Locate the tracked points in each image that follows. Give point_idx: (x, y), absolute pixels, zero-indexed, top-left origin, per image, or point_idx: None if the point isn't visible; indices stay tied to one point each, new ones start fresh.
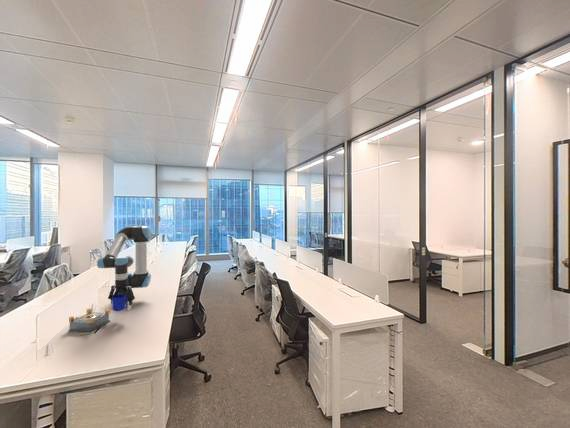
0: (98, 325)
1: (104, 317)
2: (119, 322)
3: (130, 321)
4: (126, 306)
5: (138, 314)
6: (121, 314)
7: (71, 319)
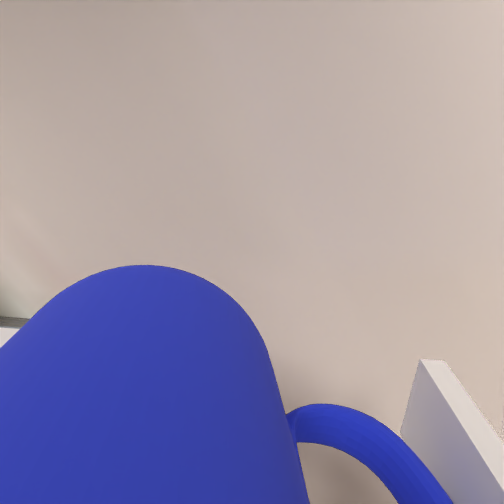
0: None
1: None
2: None
3: (395, 322)
4: (399, 496)
5: (398, 34)
6: (66, 38)
7: None
